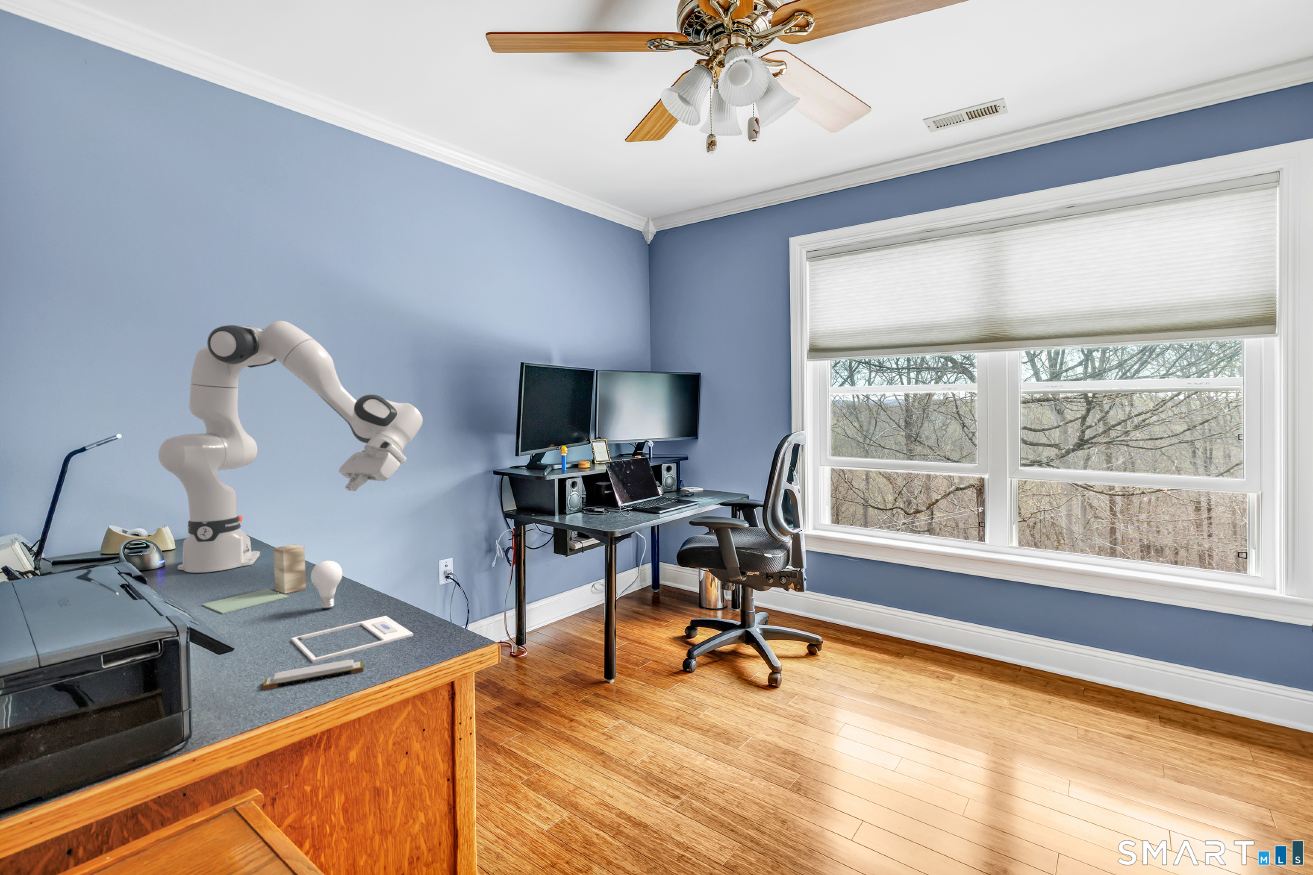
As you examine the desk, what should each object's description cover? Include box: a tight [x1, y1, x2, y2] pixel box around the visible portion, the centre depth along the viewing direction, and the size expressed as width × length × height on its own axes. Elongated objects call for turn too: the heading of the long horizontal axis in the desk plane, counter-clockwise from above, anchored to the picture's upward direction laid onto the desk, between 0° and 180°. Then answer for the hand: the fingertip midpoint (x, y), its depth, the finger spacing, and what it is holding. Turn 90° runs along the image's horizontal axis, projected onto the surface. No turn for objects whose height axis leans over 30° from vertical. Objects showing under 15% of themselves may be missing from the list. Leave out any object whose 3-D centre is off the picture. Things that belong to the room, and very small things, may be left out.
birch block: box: [272, 544, 307, 595], centre depth 151 cm, size 5×5×11 cm
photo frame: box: [291, 615, 414, 663], centre depth 119 cm, size 15×1×18 cm
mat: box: [201, 588, 290, 614], centre depth 143 cm, size 14×11×1 cm
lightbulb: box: [310, 560, 343, 610], centre depth 137 cm, size 6×6×11 cm
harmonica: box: [262, 659, 364, 691], centre depth 101 cm, size 15×3×2 cm, turn 117°
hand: (349, 489), depth 163 cm, fingers closed
